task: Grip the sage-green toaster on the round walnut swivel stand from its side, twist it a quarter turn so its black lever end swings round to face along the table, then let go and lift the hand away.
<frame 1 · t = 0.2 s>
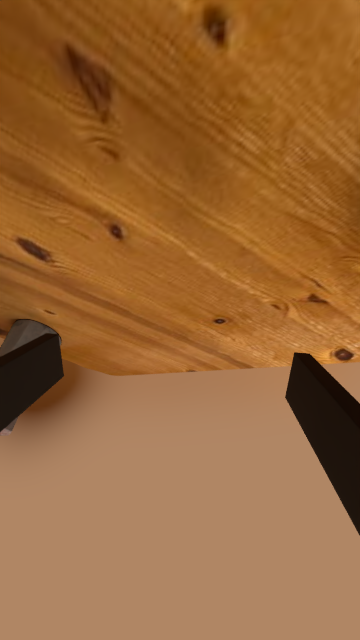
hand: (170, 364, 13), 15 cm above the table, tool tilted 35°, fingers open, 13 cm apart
moka pot: (41, 333, 45), on the table
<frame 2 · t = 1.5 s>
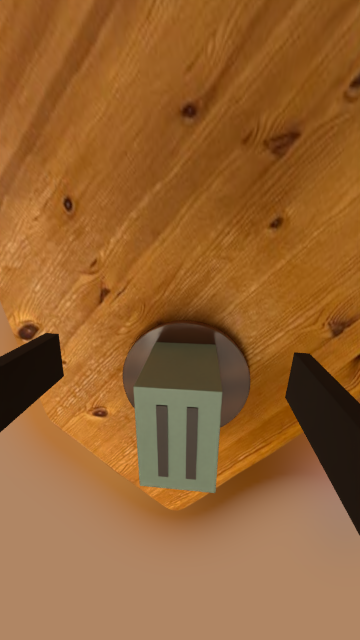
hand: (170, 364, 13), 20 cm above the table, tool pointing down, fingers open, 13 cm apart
toaster: (181, 405, 29), point 7 cm above the table, hinge at 0.0°
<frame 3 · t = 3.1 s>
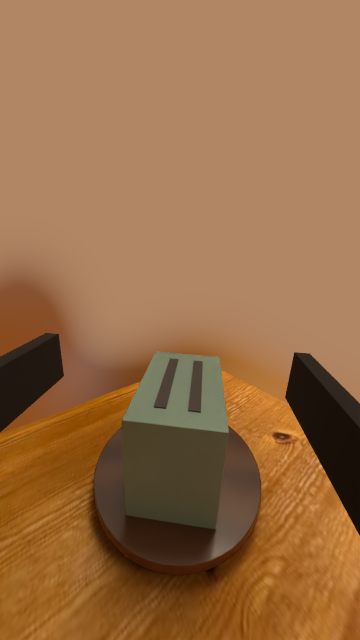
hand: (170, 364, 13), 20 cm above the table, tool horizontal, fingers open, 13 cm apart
toaster: (179, 427, 26), point 7 cm above the table, hinge at 0.0°
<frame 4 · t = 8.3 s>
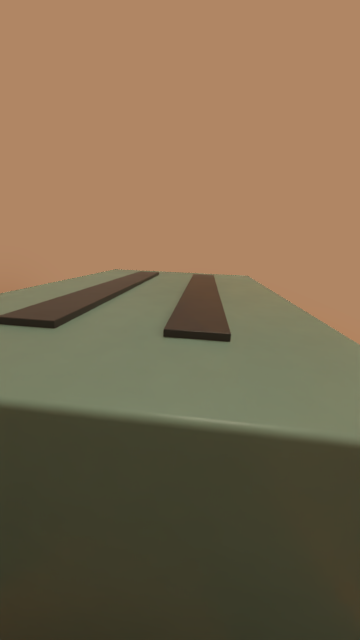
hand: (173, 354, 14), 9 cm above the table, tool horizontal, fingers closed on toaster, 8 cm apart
toaster: (158, 425, 10), point 7 cm above the table, hinge at 0.0°, touching gripper
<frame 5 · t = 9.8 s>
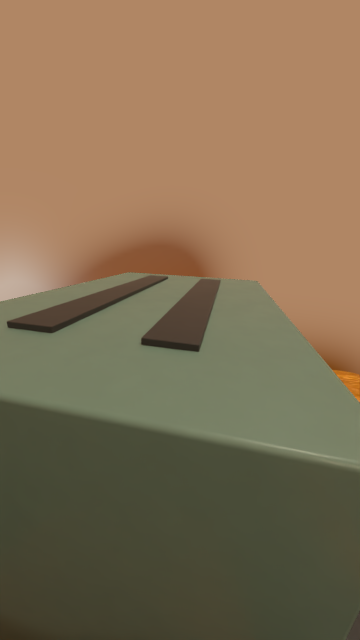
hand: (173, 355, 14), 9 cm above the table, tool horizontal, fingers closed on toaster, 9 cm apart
toaster: (159, 423, 11), point 7 cm above the table, hinge at 39.0°, touching gripper
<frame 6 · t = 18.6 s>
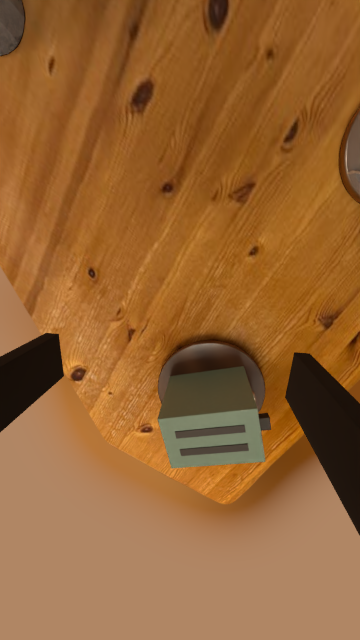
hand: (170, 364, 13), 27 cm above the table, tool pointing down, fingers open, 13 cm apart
toaster: (210, 410, 36), point 7 cm above the table, hinge at 89.5°
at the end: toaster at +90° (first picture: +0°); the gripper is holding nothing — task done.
